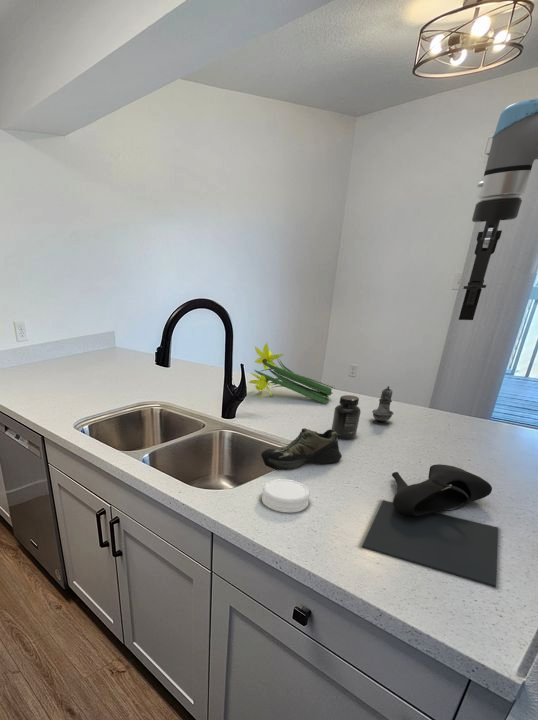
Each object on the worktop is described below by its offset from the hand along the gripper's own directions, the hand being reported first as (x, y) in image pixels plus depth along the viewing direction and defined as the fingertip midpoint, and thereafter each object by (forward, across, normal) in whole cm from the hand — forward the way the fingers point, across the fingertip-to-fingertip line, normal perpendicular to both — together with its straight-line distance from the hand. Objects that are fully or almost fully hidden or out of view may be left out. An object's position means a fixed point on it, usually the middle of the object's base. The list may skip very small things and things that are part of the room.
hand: (465, 319), depth 100 cm
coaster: (+35, +43, -23) cm, 60 cm away
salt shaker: (+35, -20, -15) cm, 43 cm away
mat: (+34, +42, +5) cm, 55 cm away
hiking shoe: (+35, +21, -27) cm, 49 cm away
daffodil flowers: (+35, -35, -50) cm, 70 cm away
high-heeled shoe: (+31, +18, +2) cm, 36 cm away
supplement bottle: (+35, -3, -22) cm, 41 cm away
